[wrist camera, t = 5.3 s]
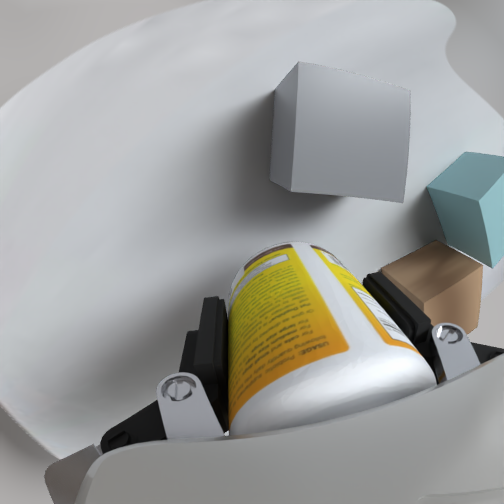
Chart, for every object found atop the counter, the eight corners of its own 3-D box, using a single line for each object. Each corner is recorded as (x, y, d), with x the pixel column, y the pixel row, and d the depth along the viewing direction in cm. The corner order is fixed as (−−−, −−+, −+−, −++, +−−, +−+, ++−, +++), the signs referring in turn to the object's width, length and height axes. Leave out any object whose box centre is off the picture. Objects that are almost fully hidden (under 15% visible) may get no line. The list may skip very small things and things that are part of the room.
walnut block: (435, 239, 17) (482, 264, 12) (438, 295, 19) (477, 326, 14) (380, 267, 17) (423, 303, 13) (389, 323, 19) (423, 364, 14)
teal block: (464, 151, 15) (515, 158, 10) (482, 207, 17) (527, 223, 12) (425, 186, 16) (478, 201, 11) (446, 243, 17) (492, 268, 13)
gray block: (360, 104, 14) (410, 90, 9) (354, 187, 15) (403, 203, 11) (274, 89, 13) (298, 61, 8) (269, 179, 15) (290, 191, 10)
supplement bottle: (222, 338, 14) (219, 548, 4) (237, 228, 12) (257, 485, 2) (327, 345, 14) (400, 518, 5) (359, 246, 12) (524, 407, 3)
